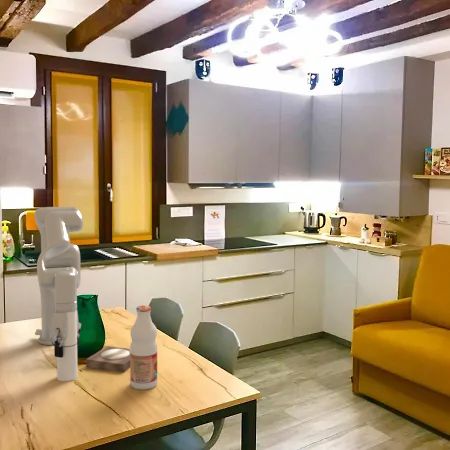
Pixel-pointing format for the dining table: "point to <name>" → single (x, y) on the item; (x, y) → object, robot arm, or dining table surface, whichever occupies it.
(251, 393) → the dining table surface
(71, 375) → the cylindrical container
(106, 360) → the walnut plinth
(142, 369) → the fruit juice
